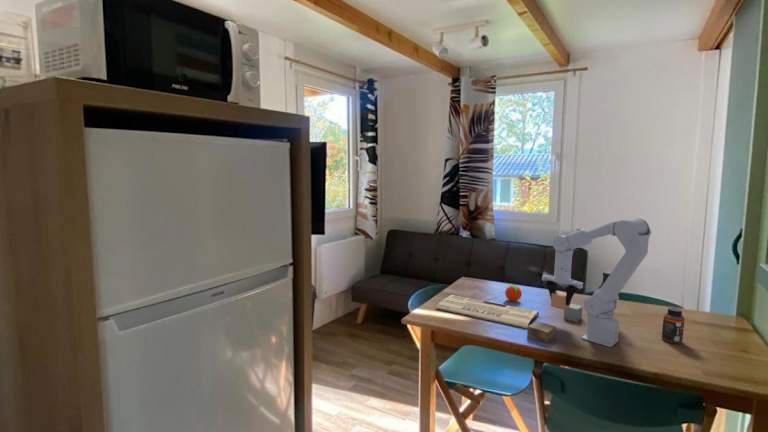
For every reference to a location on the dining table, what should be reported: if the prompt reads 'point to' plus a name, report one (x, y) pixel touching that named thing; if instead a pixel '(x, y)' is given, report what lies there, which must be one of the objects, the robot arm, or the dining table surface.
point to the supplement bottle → (673, 326)
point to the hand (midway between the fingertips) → (560, 302)
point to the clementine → (513, 293)
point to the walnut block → (541, 332)
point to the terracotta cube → (559, 300)
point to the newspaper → (488, 310)
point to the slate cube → (573, 312)
